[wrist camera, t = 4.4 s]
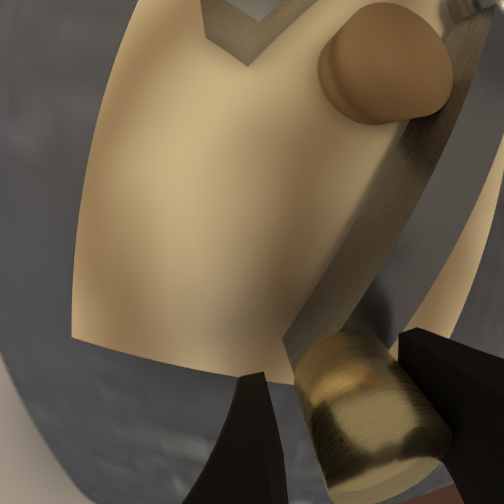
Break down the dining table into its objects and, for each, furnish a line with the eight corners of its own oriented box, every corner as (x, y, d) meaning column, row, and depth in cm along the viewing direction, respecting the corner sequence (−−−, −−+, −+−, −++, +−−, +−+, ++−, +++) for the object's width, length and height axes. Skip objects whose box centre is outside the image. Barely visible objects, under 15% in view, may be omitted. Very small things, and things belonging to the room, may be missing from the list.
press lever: (455, -24, 8) (546, -73, 1) (504, 26, 9) (600, 0, 2) (257, 340, 12) (287, 501, 5) (331, 371, 13) (396, 506, 6)
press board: (501, 23, 11) (511, 20, 10) (413, 381, 16) (421, 391, 15) (203, -99, 8) (202, -110, 7) (79, 326, 13) (71, 337, 12)
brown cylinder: (415, 57, 10) (456, 38, 7) (399, 140, 11) (444, 137, 8) (328, 18, 10) (356, -16, 7) (306, 104, 11) (333, 86, 8)
